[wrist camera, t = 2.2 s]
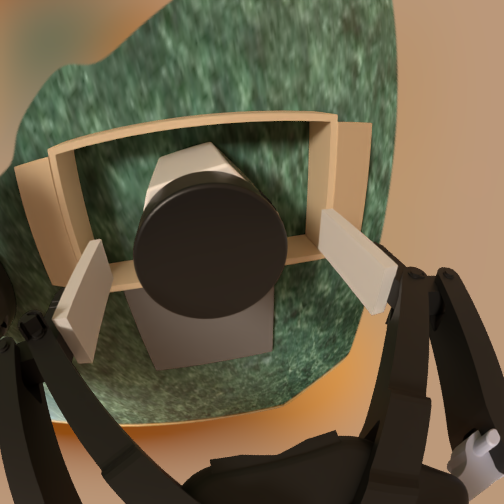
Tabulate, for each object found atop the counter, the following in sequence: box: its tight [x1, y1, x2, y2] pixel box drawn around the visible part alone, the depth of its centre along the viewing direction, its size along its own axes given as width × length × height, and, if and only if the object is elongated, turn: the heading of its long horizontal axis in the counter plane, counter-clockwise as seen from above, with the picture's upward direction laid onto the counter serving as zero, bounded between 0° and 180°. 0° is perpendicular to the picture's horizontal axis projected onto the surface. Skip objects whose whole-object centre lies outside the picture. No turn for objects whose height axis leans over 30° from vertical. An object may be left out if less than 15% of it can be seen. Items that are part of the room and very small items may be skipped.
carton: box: [14, 111, 372, 292], centre depth 22 cm, size 32×13×4 cm, turn 92°
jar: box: [133, 142, 288, 319], centre depth 19 cm, size 9×8×12 cm
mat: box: [123, 286, 274, 371], centre depth 31 cm, size 16×16×1 cm
